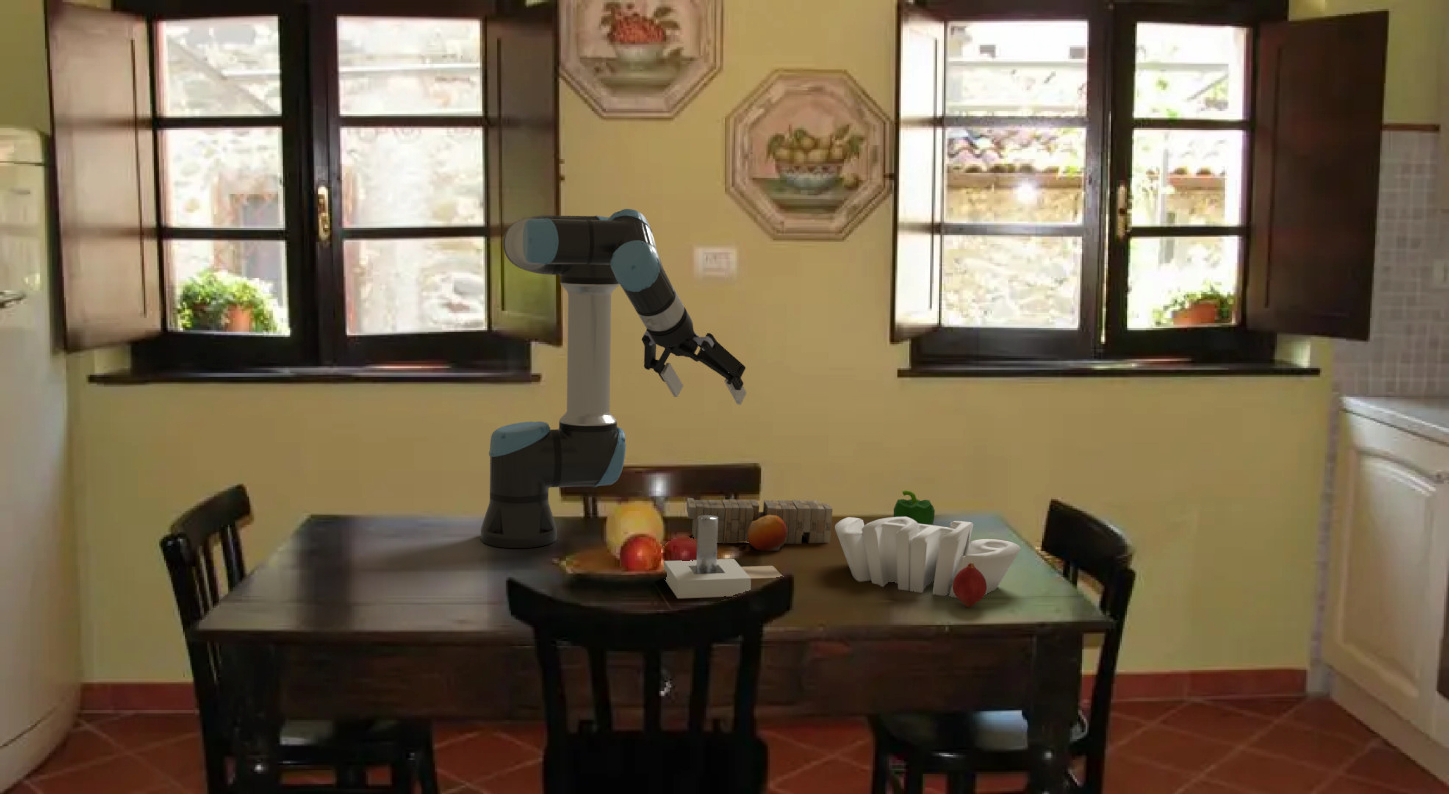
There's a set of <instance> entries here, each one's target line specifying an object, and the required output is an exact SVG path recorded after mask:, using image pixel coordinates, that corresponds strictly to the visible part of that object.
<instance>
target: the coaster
mask: <svg viewBox="0 0 1449 794" xmlns="http://www.w3.org/2000/svg"><path fill="white" fill-rule="evenodd" d="M741 568H742V569H743V570H744V571H745V572H746V573H747V574H748V575H749V576H750V578H751V580H752V579H755V580H756V579H777V578H776V577H780V576H783V575H782V573H780V572H779V571H778V570H777V568H775V566H773V565H758V566H756V565H755V566H752V565H751V566H741Z"/></svg>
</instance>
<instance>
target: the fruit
mask: <svg viewBox="0 0 1449 794" xmlns="http://www.w3.org/2000/svg"><path fill="white" fill-rule="evenodd" d="M747 535H748V542H749V543H750V545H751V546H752V548H754V549H755V550H757V551H765V552H772V551H773V552H774V551H778V552H779V551H780V549H781V547H784V544H785V543H784V541H785V539H786V535H787V527H786V525H785V523H784V521H783V520H782V519H781V518H780V517H778V516H776V515H766V516H764V517H761V518H758V520H756V521H753V522H752V523H751V525H750V526H749V528H748V531H747Z"/></svg>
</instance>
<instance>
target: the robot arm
mask: <svg viewBox="0 0 1449 794" xmlns="http://www.w3.org/2000/svg"><path fill="white" fill-rule="evenodd" d="M502 245H503V246H502V247H503V252H504V255H505V256H506V258H507V260H508V261H509V262H510V263H511V264H512V265H514V266H515V267H517V268H519V269H522V270H524V271H527V272H530V273H534V274H538V275H549V276H550V275H551V276H552V275H553V276H554V275H555V276H557V275H558V276H560V277H559V279H560V283H559V284H560V286H561V287H562V288H563V289H564V290H565V291H566V292H567V351H566V352H567V355H566V356H567V357H566V358H567V365H566V366H567V368H566V371H567V373H566V374H567V375H566V376H567V379H566V380H567V381H566V412H565V413H564V414H563V415H562V416H561V417H560V418H559V421H558V428H557V429H551V427H550V425H549V423H547V422H545V421H523V422H517V423H516V422H515V423H510V424H507V425H503V426H500V427H499V428H497V429H495V430H494V431H493V432H492V433H491V436H490V443H489V452H488V455H489V458H490V459H489V503H488V506H487V509H486V513H485V515H484V518H483V520H482V524H481V528H480V541H481V542H482V543H484V544H486V545H489V546H492V547H498V548H508V549H528V548H529V549H531V548H536V547H537V548H538V547H543V546H547V545H551V544H553V543H555V542H556V541H557V539H558V536H557V535H558V533H557V530H558V529H557V525H556V522H555V518H554V516H553V512H552V509H551V505H550V502H549V501H550V500H549V488H565V487H566V488H567V487H568V488H569V487H572V488H573V487H574V488H575V487H592V488H597V487H598V486H600V487H602V486H611V485H613V484H614V483H616V482H617V481H618V480H619V478H620V476H621V475H622V474H621V473H622V471H623V467H624V465H625V464H624V463H625V458H626V449H627V444H626V434H625V431H624V430H623V428H621V427H619V426H618V420H617V419H616V417H615V416H613V414H612V413H611V411H610V403H611V401H610V399H611V397H610V396H611V333H612V332H611V331H612V329H611V328H612V327H611V326H612V293H613V292H614V290H616V288H618V287H619V285H620V287H621V288H622V290H623V292H624V294H625V295H626V297H627V298H628V299H629V302H630V303H631V305H632V306H633V307H634V310H635V312H636V313H637V315H638V316H639V318H640V320H641V322H642V323H643V325H644V327H645V329H646V331H645V332H644V333H643V336H642V338H641V341H642V344H643V346H644V355H643V356H644V359H643V360H644V361H643V367H644V369H645V370H647V371H650V370H653V371H654V372H655V373H657V374H658V376H659V378H660V380H661V381H662V382H664V383H665V384H666V386H667V388H668V389H669V391H670V392H671V393H670V394H672V396H673V397H674V398H675V397H676V398H678V397H679V395H680V393H681V391H682V389H683V387H684V384H683V383H682V381H681V379H680V378H679V376H678V374H677V372H676V370H675V369H674V368H673V366H672V364H671V363H670V362H667V360H668V358H669V357H670V355H671V354H672V355H674V356H675V357H685V358H690V359H691V360H693V361H694V362H700V363H702V364H703V365H705V367H708V368H709V369H711V370H712V371H714V372H715V373H717V374H719V375H720V376H721V377H723V378H725V379H724V383H725V386H726V387H727V389H728V390H729V392H730V394H731V397H733V400H734V402H735V403H736V405H740V406H741V405H742V403H743V401H744V399H745V397H746V395H747V391H746V389H745V387H744V381H743V380H742V377H743V375H744V373H745V371H746V369H747V368H746V366H745V365H744V364H743V363H742V362H741V361H739V360H738V359H737V357H735V356H734V355H733V354H732V353H730V351H728V350H727V349H726V348H725V347H724V346H723V345H721V344H720V342H718V341H717V339H716V338H715V336H714V335H713V334H712V333H710V332H708V333H706V334H705V336H699V335H698V334H697V333H696V332H695V331H694V324H693V320H692V318H691V316H690V314H689V313H688V311H687V308H686V307H685V305H684V303H683V302H682V300H681V298H680V296H679V294H678V293H677V291H676V289H675V288H674V286H673V284H672V283H671V281H670V279H669V277H668V275H667V273H666V271H665V269H664V266H663V264H662V260H661V257H660V255H659V252H658V250H657V245H656V241H655V238H654V233H653V229H652V228H651V225H650V223H649V221H648V219H647V218H646V217H645V215H644V214H642V212H640V211H638V210H636V209H632V208H623V209H621V210H619V211H615V212H613V213H612V214H611V215H610V216H600V215H553V214H552V215H551V214H545V215H544V214H543V215H542V214H541V215H535V216H531V217H526V218H522V219H519V220H517V221H515V222H514V223H512V224H511V225H510V226H509V227H508V228H507V229H506V231H505V234H504V236H503V239H502ZM657 346H659V347H661V348H662V347H663V348H664V349H663V351H662V353H661V355H660V358H659V359H656V358H657V357H656V355H657ZM698 347H699V350H698V353H697V354H696V351H697V349H698Z"/></svg>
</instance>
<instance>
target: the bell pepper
mask: <svg viewBox="0 0 1449 794" xmlns="http://www.w3.org/2000/svg"><path fill="white" fill-rule="evenodd" d="M902 494H903V496H909V497H911V498H910V499H897V501H896V502H895V505H894V508H893V517H909V518H911V519H913V520H915V521H916V522H917V523H918V524H927V525H933V524H934V521H935V513H936V511H935V508H934V505H933V504H932V503H931V500H930V499H929V500H928V499H923V500H920V499H917V497H916V494H915V493H914V492H913V491H911V490H903V491H902Z"/></svg>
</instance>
